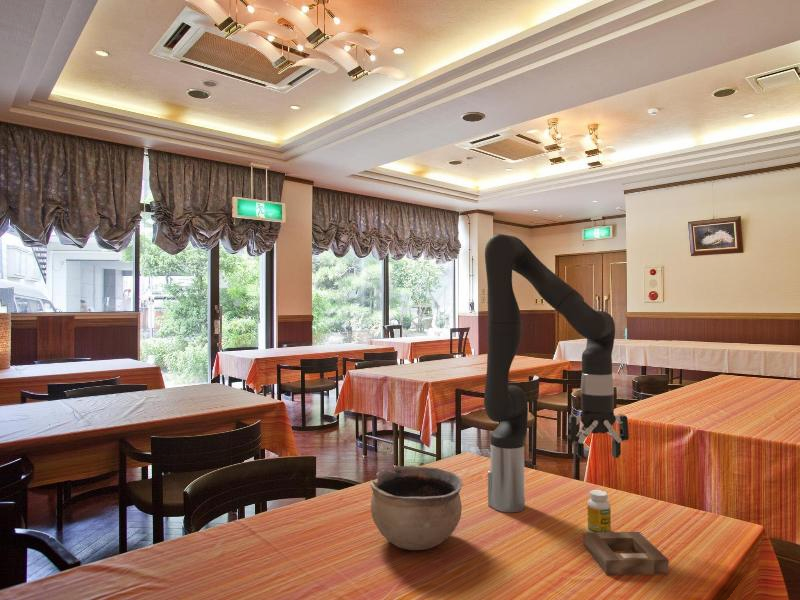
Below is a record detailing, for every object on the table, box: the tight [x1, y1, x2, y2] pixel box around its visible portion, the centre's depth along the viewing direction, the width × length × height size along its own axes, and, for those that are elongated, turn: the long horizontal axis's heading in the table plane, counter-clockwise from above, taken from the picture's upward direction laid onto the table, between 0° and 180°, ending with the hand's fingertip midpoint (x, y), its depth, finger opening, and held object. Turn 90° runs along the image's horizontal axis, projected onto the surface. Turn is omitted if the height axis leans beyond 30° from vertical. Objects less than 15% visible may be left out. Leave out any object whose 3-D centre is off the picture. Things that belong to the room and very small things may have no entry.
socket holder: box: [582, 531, 670, 576], centre depth 113 cm, size 13×13×3 cm
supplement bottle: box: [586, 489, 612, 532], centre depth 127 cm, size 5×5×10 cm
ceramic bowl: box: [370, 465, 463, 551], centre depth 122 cm, size 22×22×15 cm
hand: (598, 457), depth 127 cm, fingers open, 8 cm apart
